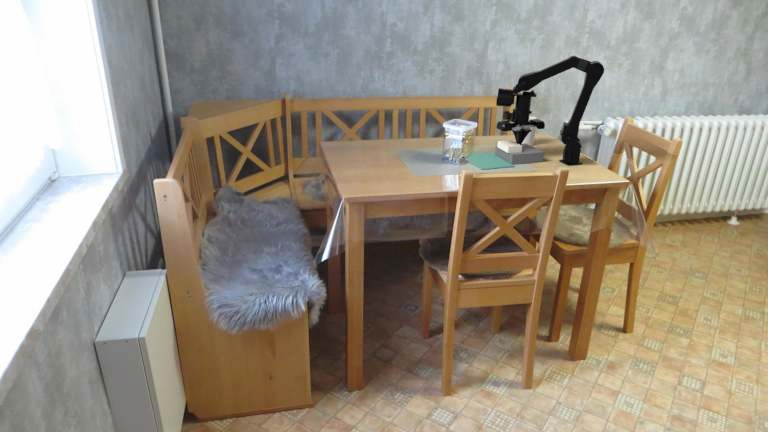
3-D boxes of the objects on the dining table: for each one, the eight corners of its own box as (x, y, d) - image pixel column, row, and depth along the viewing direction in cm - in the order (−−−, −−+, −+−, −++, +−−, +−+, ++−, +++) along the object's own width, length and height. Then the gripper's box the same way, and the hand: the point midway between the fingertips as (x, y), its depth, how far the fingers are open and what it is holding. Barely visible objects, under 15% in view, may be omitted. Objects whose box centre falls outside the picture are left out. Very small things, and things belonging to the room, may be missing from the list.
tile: (521, 152, 216) (522, 145, 215) (507, 153, 215) (508, 146, 214) (510, 146, 224) (511, 140, 223) (497, 147, 223) (497, 141, 222)
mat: (514, 167, 211) (514, 166, 211) (481, 169, 207) (481, 168, 207) (490, 153, 229) (490, 152, 229) (459, 155, 225) (459, 154, 225)
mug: (529, 142, 246) (532, 115, 242) (536, 145, 240) (539, 118, 236) (508, 143, 244) (511, 116, 240) (515, 147, 238) (518, 119, 234)
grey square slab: (542, 161, 218) (544, 152, 216) (511, 164, 214) (512, 154, 212) (524, 152, 230) (525, 143, 229) (494, 155, 226) (495, 145, 225)
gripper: (532, 102, 224) (528, 139, 230) (491, 104, 219) (488, 142, 225) (547, 107, 214) (542, 146, 220) (505, 110, 209) (501, 149, 215)
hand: (518, 146), depth 220 cm, fingers closed
